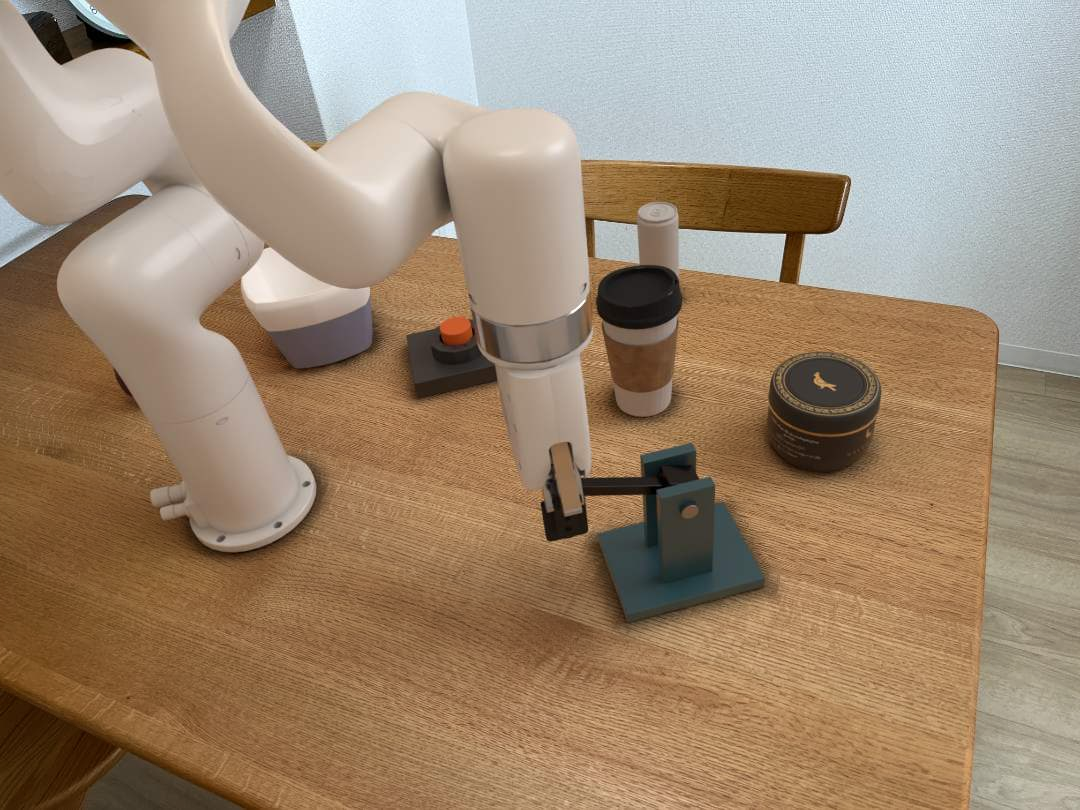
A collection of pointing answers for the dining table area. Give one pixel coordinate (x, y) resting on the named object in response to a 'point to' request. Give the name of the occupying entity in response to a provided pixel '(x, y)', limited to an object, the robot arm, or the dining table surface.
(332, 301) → the bowl
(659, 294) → the coffee cup
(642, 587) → the lever base
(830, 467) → the jar
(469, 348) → the button block
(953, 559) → the dining table surface
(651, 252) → the beverage can
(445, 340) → the button
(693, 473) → the lever
